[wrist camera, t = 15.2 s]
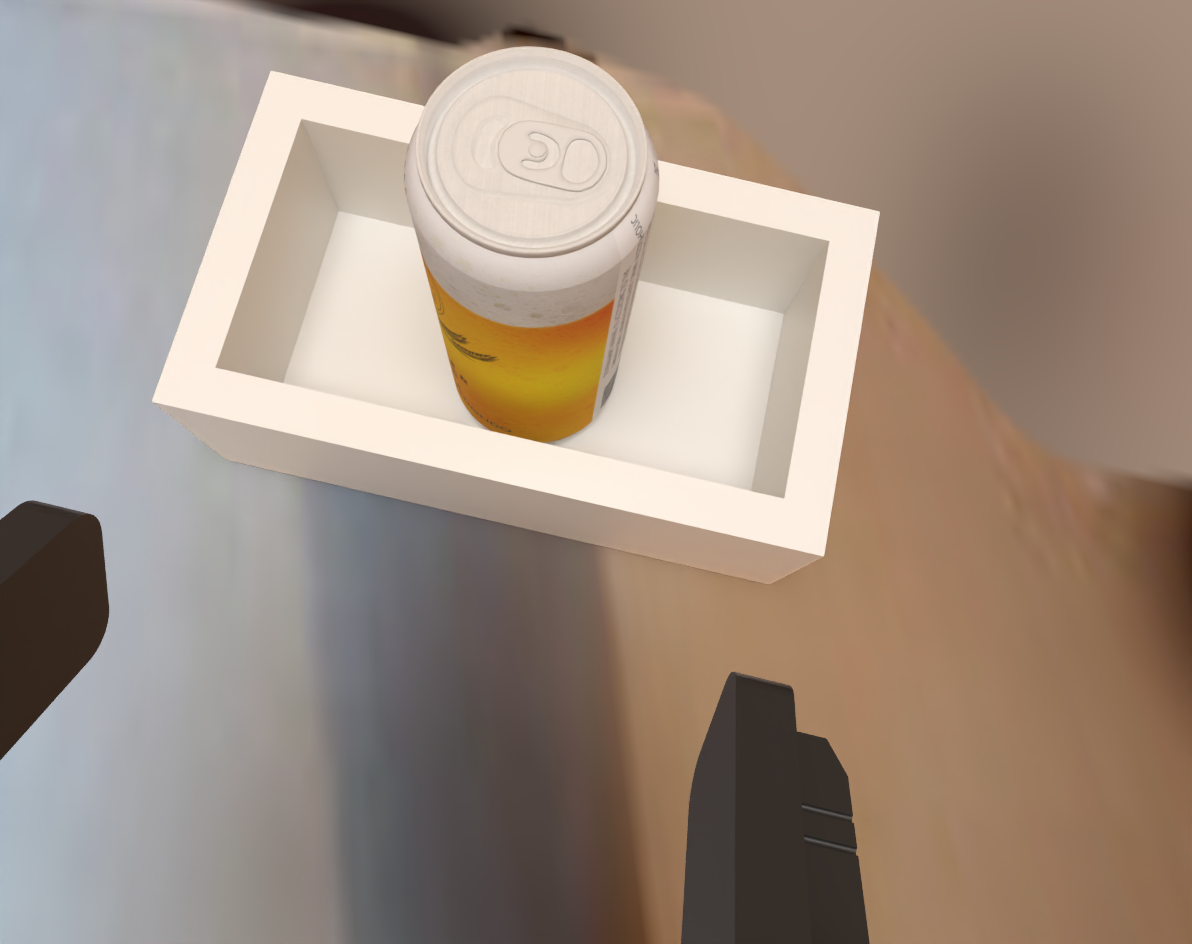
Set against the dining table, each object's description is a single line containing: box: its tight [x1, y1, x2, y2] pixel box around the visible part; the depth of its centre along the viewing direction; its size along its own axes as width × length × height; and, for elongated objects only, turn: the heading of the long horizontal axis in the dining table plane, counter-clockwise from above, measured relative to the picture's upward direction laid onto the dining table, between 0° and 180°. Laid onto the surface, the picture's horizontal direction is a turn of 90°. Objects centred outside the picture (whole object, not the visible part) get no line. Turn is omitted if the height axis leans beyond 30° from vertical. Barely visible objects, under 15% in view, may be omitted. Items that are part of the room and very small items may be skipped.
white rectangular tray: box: [152, 71, 880, 585], centre depth 33 cm, size 21×12×7 cm, turn 77°
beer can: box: [404, 47, 659, 443], centre depth 29 cm, size 6×6×15 cm
